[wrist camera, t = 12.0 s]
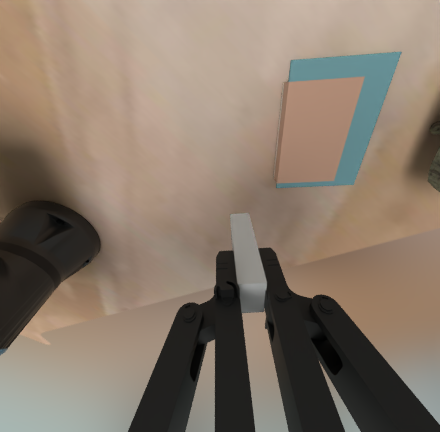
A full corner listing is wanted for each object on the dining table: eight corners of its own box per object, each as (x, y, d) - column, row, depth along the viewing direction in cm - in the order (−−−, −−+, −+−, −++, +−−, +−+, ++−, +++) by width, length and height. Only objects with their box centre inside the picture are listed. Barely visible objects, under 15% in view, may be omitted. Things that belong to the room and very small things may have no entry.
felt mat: (276, 187, 31) (276, 188, 30) (290, 60, 22) (291, 60, 22) (352, 183, 30) (353, 184, 30) (399, 52, 21) (401, 51, 21)
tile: (277, 183, 27) (334, 180, 27) (289, 82, 21) (364, 76, 20) (273, 176, 29) (326, 174, 29) (283, 82, 23) (351, 77, 22)
